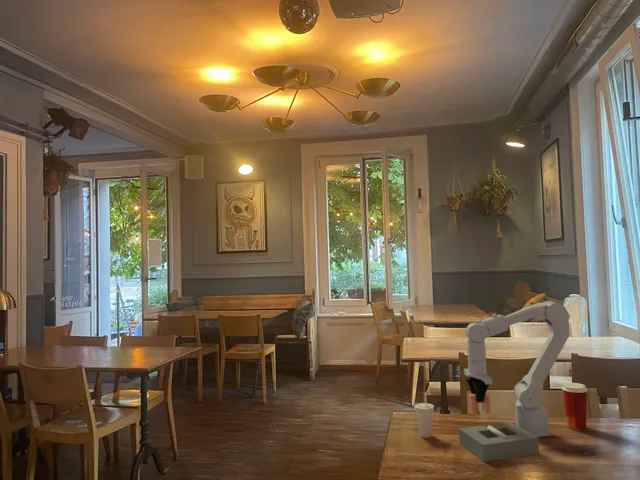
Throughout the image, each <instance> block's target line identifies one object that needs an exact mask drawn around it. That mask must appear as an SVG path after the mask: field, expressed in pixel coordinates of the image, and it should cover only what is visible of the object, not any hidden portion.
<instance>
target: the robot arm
mask: <svg viewBox="0 0 640 480" xmlns="http://www.w3.org/2000/svg"><path fill="white" fill-rule="evenodd" d="M531 319H538V320H544V321H545V323H546V324H547V327H548V329H549V331H550V333H549V335H548V337H547V338H546V340H545V342H544V344H543V346H542V348H541V349H540V351H539V353H538V355H537V357H536V359H535V360H534V362H533V364H532V366H531V367H530V369H529V371H528V373H527V374H526V375H524V376H523V377H522V379H521V381H519V382H517V383H516V384H515V386H514V387H513V395H514V396H515V398H516V402H515V403H514V404H515V408H514V409H515V423H516V424H515V425H516V426H518V427H520V428H522V429H524V430H525V431H527V432H529V433H531V434H533V435H535V436H536V437H538V438H541V437H550V436H552V434H551V433H550V429H549V428H550V426H549V413H548V410H547V408H546V406H544V405H543V404H540V403H541V395H542V394H543V392H544V391H543V390H544V382H545V380H546V378H547V377H548V375H549V374H550V372H551V369H552V368H553V366H554V364H555V362H556V361H557V359H558V358H559V355H560V353H561V352H562V350H563V348H564V347H565V344H566V343H567V341H568V339H569V337H570V333H571V332H570V321H569V320H570V313H569V312H568V310H567V308H566V306H564V304H561V303H559V302H555V301H553V300H545V301H542V302H537V303H534V304H531V305H528V306H526V307H524V308H521V309H519V310H517V311H514V312H512V313H510V314H507V315H502V314H496V313H493V314H491V317H488V318H486V319H478V320H477V322H472V323H469V324H468V325H467V326H466V328H465V335H466V337H467V366H468V367H466V368H464V369H463V374H464V376H466V378H465V381H466V382H465V383H467V385H468V388H469V390H470V394H476V399H475V401H476V402H477V403H478V404H482V402H484V399H485V394H486V393H487V391H488V388H489V386H490V385H493V378H492V377H490V375H489V374H488V372H487V357H486V356H487V355H486V353H487V350H486V344H485V343H486V341H485V340H486V339H487V338H490V337H492V336H496V335H498V334H501V333H504V332H507V331H508V329H509V327H510V326H512V325H516V324H518V323H521V322H525V321H528V320H531Z"/></svg>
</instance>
